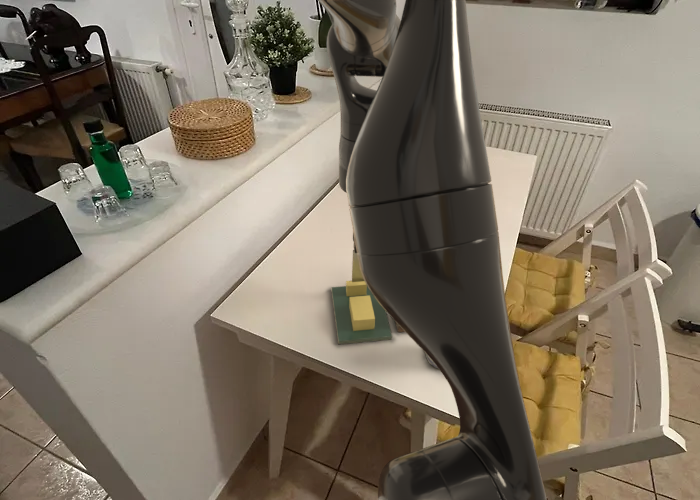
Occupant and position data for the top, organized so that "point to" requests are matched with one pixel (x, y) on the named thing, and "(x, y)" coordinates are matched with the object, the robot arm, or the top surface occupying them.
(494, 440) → the robot arm
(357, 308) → the butter
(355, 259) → the knife
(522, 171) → the top surface
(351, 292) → the butter slice
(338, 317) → the butter dish
